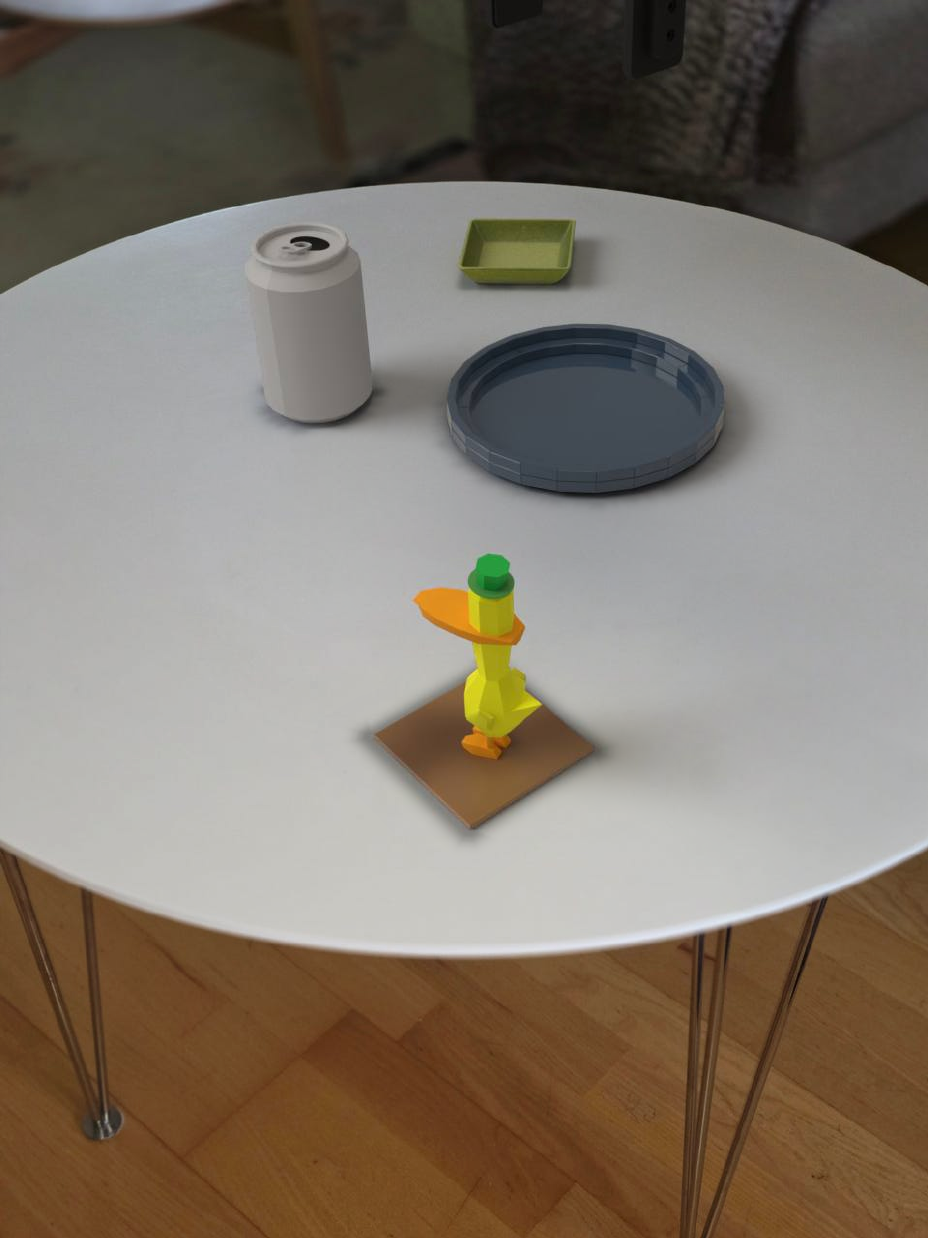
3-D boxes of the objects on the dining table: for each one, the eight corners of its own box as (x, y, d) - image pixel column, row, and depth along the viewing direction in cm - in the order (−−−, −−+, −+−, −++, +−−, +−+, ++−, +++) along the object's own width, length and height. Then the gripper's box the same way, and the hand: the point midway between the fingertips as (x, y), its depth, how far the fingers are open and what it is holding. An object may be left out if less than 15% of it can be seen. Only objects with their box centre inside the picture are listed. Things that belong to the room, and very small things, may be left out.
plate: (779, 425, 90) (783, 397, 89) (573, 537, 82) (573, 508, 81) (593, 324, 101) (594, 297, 100) (395, 414, 93) (392, 386, 92)
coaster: (594, 752, 69) (594, 746, 69) (470, 831, 65) (470, 826, 65) (494, 669, 74) (494, 664, 73) (373, 739, 70) (372, 734, 70)
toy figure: (409, 741, 69) (391, 557, 62) (445, 698, 72) (432, 514, 64) (525, 789, 67) (522, 602, 59) (559, 742, 69) (560, 556, 61)
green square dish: (457, 291, 106) (456, 266, 105) (470, 241, 113) (469, 217, 111) (570, 293, 105) (570, 268, 104) (576, 242, 112) (576, 218, 110)
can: (395, 389, 96) (380, 228, 88) (331, 442, 91) (310, 277, 83) (309, 363, 99) (288, 205, 91) (244, 413, 94) (216, 251, 86)
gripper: (822, -406, 50) (772, 70, 61) (518, -422, 60) (523, -13, 72) (674, -384, 47) (651, 115, 58) (380, -405, 57) (408, 21, 68)
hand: (580, 44), depth 65 cm, fingers open, 9 cm apart
